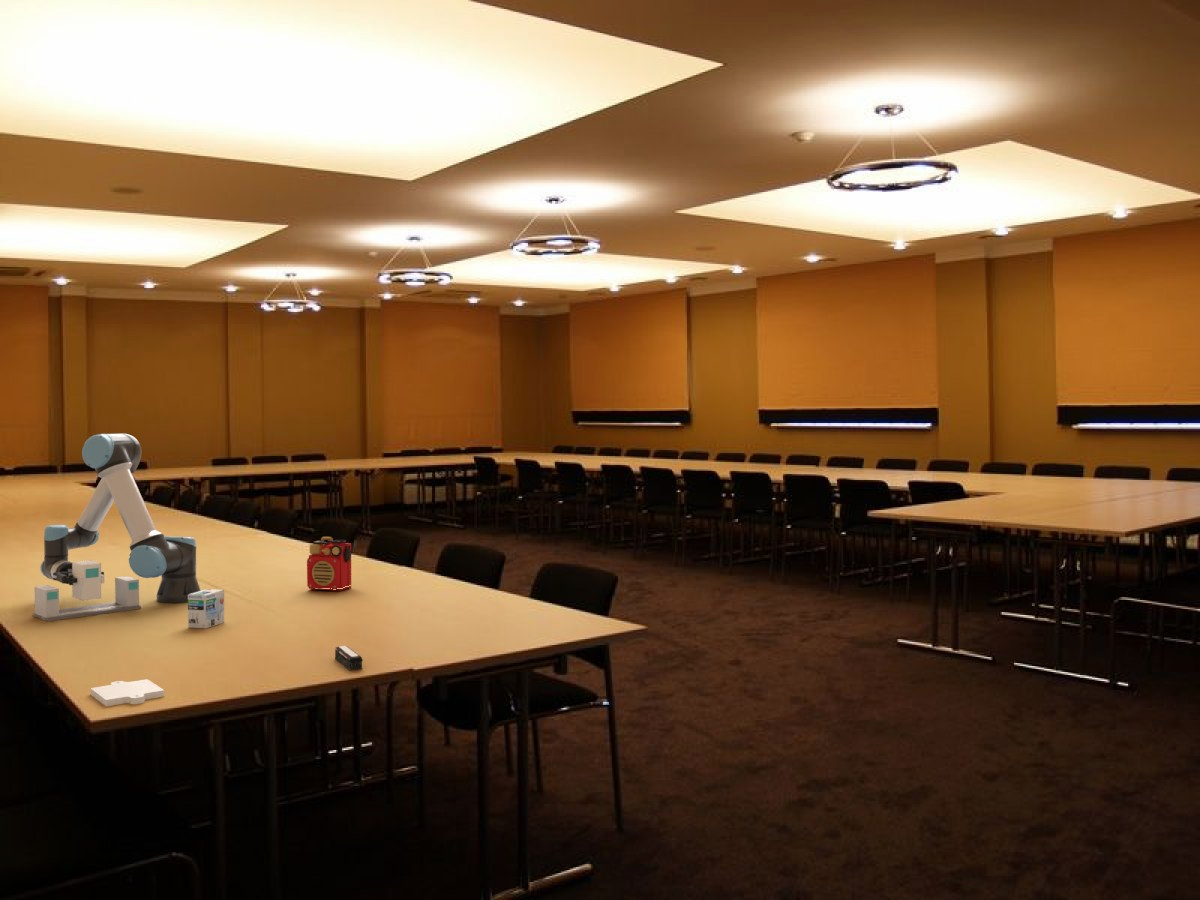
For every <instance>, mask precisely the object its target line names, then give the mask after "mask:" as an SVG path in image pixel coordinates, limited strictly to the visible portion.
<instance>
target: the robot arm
mask: <svg viewBox="0 0 1200 900" xmlns="http://www.w3.org/2000/svg"><path fill="white" fill-rule="evenodd" d="M142 453H143V452H142V446H141V444H140V442H139V441H138V439H137V438H136V437H135V436H133V435H130V434H127V433H99V434H94V435H92V436H90V437H88V439H87V440H86V441H85V442H84V443H83V446H82V450H81V454H82V455H81V456H82V459H83V462H84V463H85V465H86V466H88V467H90V468H92V469H95V471H96V474H97V476H98V477H99V478H101V479H100V481H99V482H98V485H97V486H96V488H95V490H94V491H93V493H92V495H91V496H90V499H89V500H88V502H87V504H86V505H85V507H84V509H83V511H82V513H81V514H80V516H79V518H78V520H77V522H76V523H75V525H74V527H73V528H69V527H68V526H67V525H66V524H54V525H53V524H52V525H51V524H50V525H46V526H45V528H44V535H43V542H44V543H43V547H44V548H43V549H44V551H43V553H44V554H43V555H44V557H43V558H44V559H43V560H42V562H41V564H40V566H39V567H40V573H41V574H42V575H43V576H44V577H46V578H47V579H49V580H52V581H56V582H59V583H61V584H66V585H69V586H72V585H73V583H74V584H77V585H81V586H83V585H84V584H83V577H80V576H77V575H74V577H73V574H72V562H73V561H69V550H73V549H78V548H79V549H80V548H86V547H90V546H93V545H95V544H97V543H98V541H99V536H100V532H99V530H98V529H99V528H100V527H101V525H102V523H103V521H104V519H105V517H106V516H107V514H108V512H109V511H110V509H111V507H112V506H113V504H114V503H115V505H116V508H117V510H118V512H119V514H120V517H121V520H122V521H123V523H124V526H125V528H126V531H127V533H128V535H129V538H130V540H131V543H130V544H129V546H128V547H129V549H130V553H129V555H128V556H129V557H128V564H129V567H130V569H131V570H132V572H133V573H134V574H135V575H136V576H138V577H141V578H143V579H153V578H154V579H155V578H158V577H160V576H161V580H160V584H159V586H158V589H157V591H156V602H157V603H166V604H167V603H169V604H175V603H188V594H191V593H195V592H198V591H202V589H201V587H200V585H199V582H198V579H197V544H196V543H197V542H196V539H195V538H194V537H192V536H165V535H164V533H163V532H161V531H157V528H156V526H155V524H154V522H153V519H152V517H151V514H150V513H149V511H148V508H147V506H146V503H145V501H144V498H143V497H142V495H141V493H140V490H139V487H138V485H137V482H136V481H135V478H134V477H133V474H134V473H135V472H136V470H137V468H138V466H139V465H140V462H141V458H142ZM101 584H105V572H104V571H102V570H101Z"/></svg>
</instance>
